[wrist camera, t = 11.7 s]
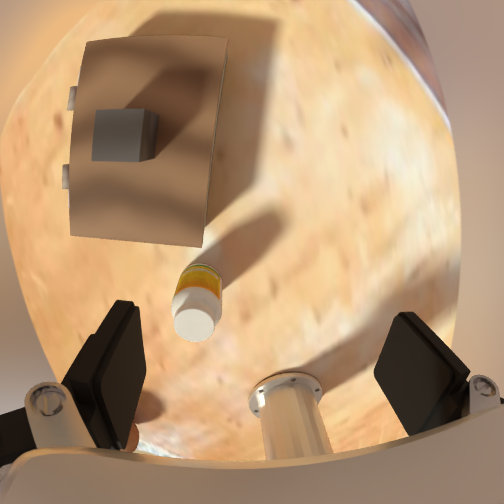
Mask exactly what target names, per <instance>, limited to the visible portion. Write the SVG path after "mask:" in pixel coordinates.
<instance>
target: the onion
mask: <svg viewBox="0 0 504 504" xmlns="http://www.w3.org/2000/svg"><path fill="white" fill-rule="evenodd" d="M138 442H139V431H138V428H137V426H136V425H135V424H134V423H133V422H132V426H131V430H130V434H129V438H128V442H127V446H126V448H125V450H123V449H120V451H124V452H131V453H133V452H134V451H135V449H136V448H137V446H138Z"/></svg>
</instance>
